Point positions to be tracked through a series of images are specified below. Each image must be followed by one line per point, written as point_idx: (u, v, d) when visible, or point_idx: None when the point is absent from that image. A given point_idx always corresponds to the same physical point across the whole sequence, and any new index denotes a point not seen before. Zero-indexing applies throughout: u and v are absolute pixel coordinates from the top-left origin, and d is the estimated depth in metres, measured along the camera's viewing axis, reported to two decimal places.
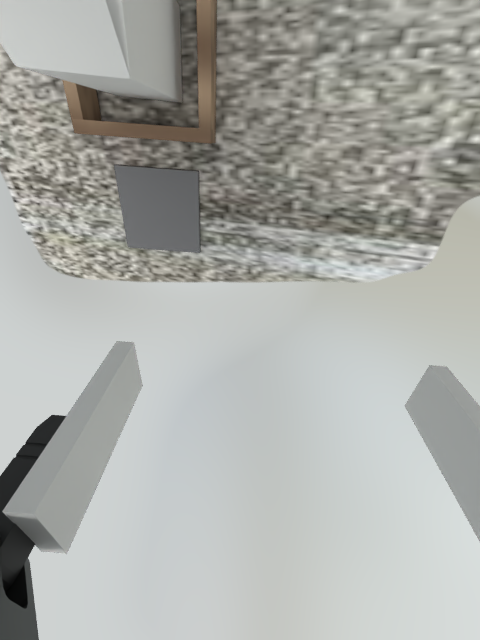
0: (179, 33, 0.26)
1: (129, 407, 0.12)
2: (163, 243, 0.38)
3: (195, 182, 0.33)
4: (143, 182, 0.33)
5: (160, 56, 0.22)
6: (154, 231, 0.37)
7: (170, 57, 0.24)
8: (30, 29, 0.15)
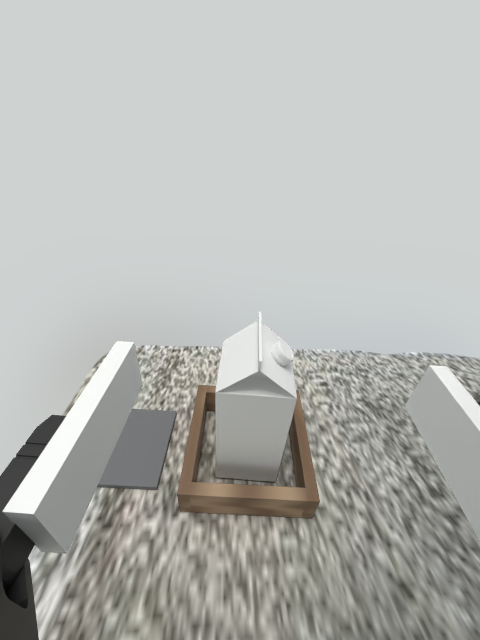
0: (259, 478, 0.31)
1: (129, 407, 0.12)
2: None
3: (146, 483, 0.31)
4: (158, 431, 0.36)
5: (238, 441, 0.27)
6: None
7: (241, 459, 0.29)
8: (236, 346, 0.27)
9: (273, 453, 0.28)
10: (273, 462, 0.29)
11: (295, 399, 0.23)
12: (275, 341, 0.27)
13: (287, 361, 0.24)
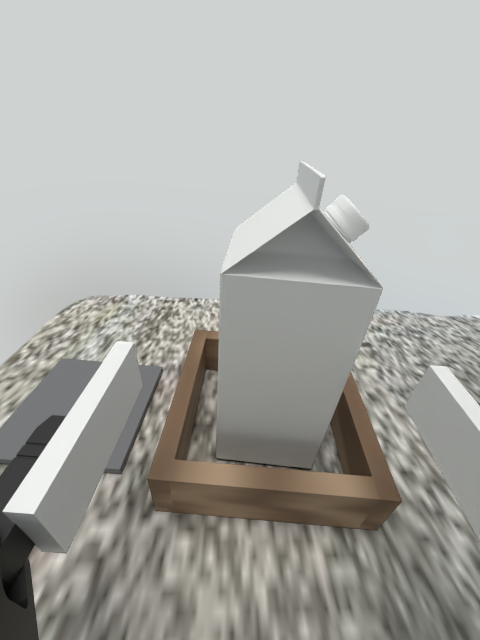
0: (286, 461, 0.20)
1: (129, 407, 0.12)
2: (36, 400, 0.23)
3: None
4: None
5: (256, 390, 0.16)
6: (62, 391, 0.24)
7: (259, 426, 0.18)
8: (259, 218, 0.15)
9: (315, 415, 0.17)
10: (313, 432, 0.17)
11: (380, 291, 0.12)
12: None
13: (359, 226, 0.13)
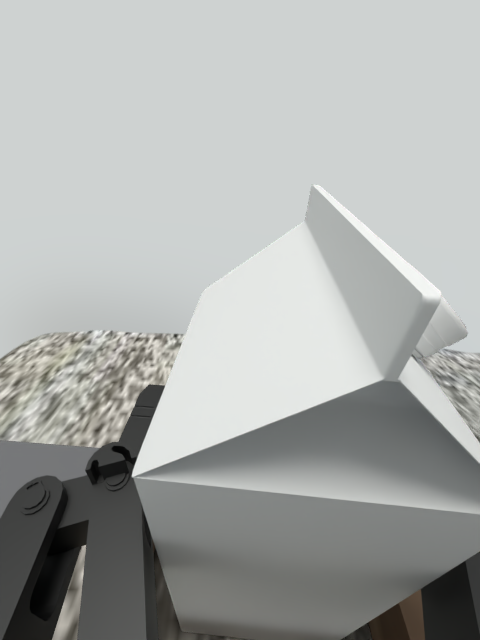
0: None
1: None
2: None
3: None
4: None
5: (236, 594, 0.09)
6: None
7: (244, 618, 0.11)
8: (238, 292, 0.08)
9: (340, 620, 0.10)
10: (334, 630, 0.11)
11: None
12: None
13: (450, 338, 0.06)
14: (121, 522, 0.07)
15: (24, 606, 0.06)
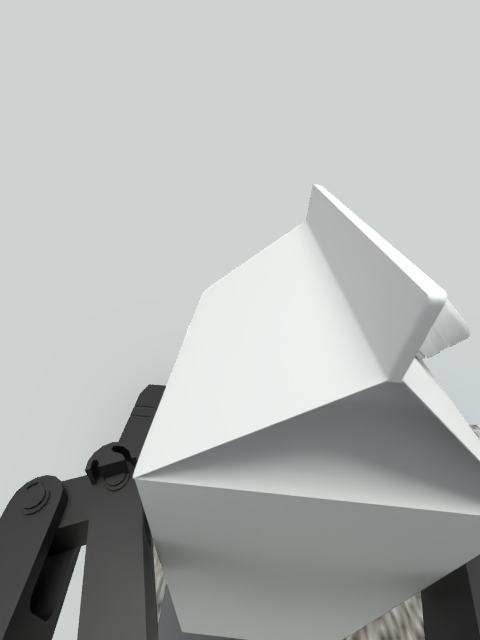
0: None
1: None
2: None
3: None
4: None
5: (236, 596, 0.09)
6: None
7: (245, 619, 0.11)
8: (239, 292, 0.08)
9: (341, 621, 0.10)
10: (335, 631, 0.10)
11: None
12: None
13: (452, 339, 0.06)
14: (121, 522, 0.07)
15: (24, 607, 0.06)
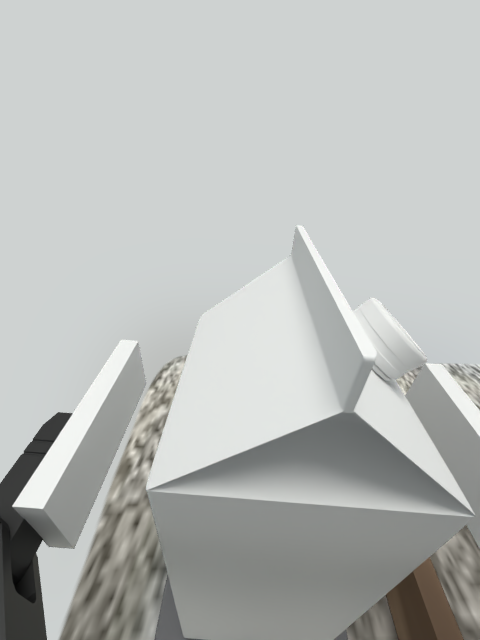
0: None
1: (133, 405, 0.12)
2: None
3: None
4: None
5: (235, 597, 0.10)
6: None
7: (243, 621, 0.11)
8: (233, 321, 0.09)
9: (331, 618, 0.10)
10: (327, 628, 0.11)
11: (468, 518, 0.06)
12: None
13: (412, 365, 0.07)
14: None
15: None
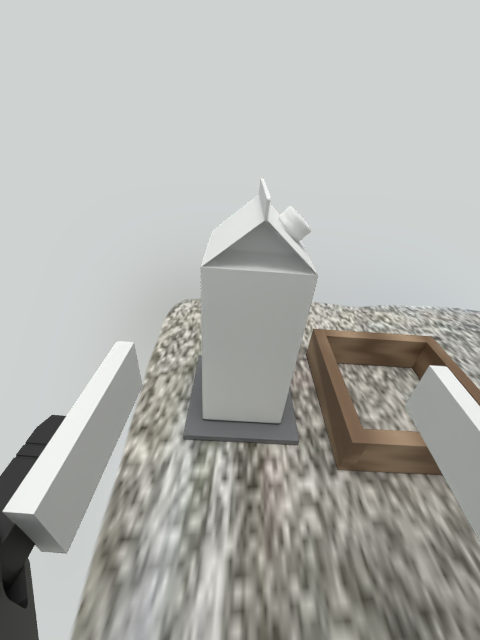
0: (259, 418, 0.24)
1: (129, 407, 0.12)
2: (201, 390, 0.28)
3: (285, 436, 0.24)
4: None
5: (232, 357, 0.20)
6: None
7: (236, 388, 0.22)
8: (230, 223, 0.19)
9: (279, 376, 0.21)
10: (279, 391, 0.22)
11: (316, 277, 0.16)
12: None
13: (302, 230, 0.17)
14: None
15: None
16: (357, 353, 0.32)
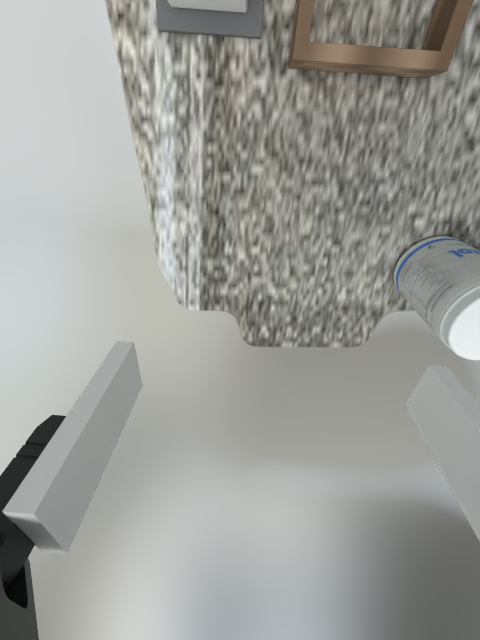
0: (225, 9, 0.25)
1: (129, 407, 0.12)
2: None
3: (249, 31, 0.26)
4: None
5: None
6: None
7: None
8: None
9: None
10: None
11: None
12: None
13: None
14: None
15: None
16: None
